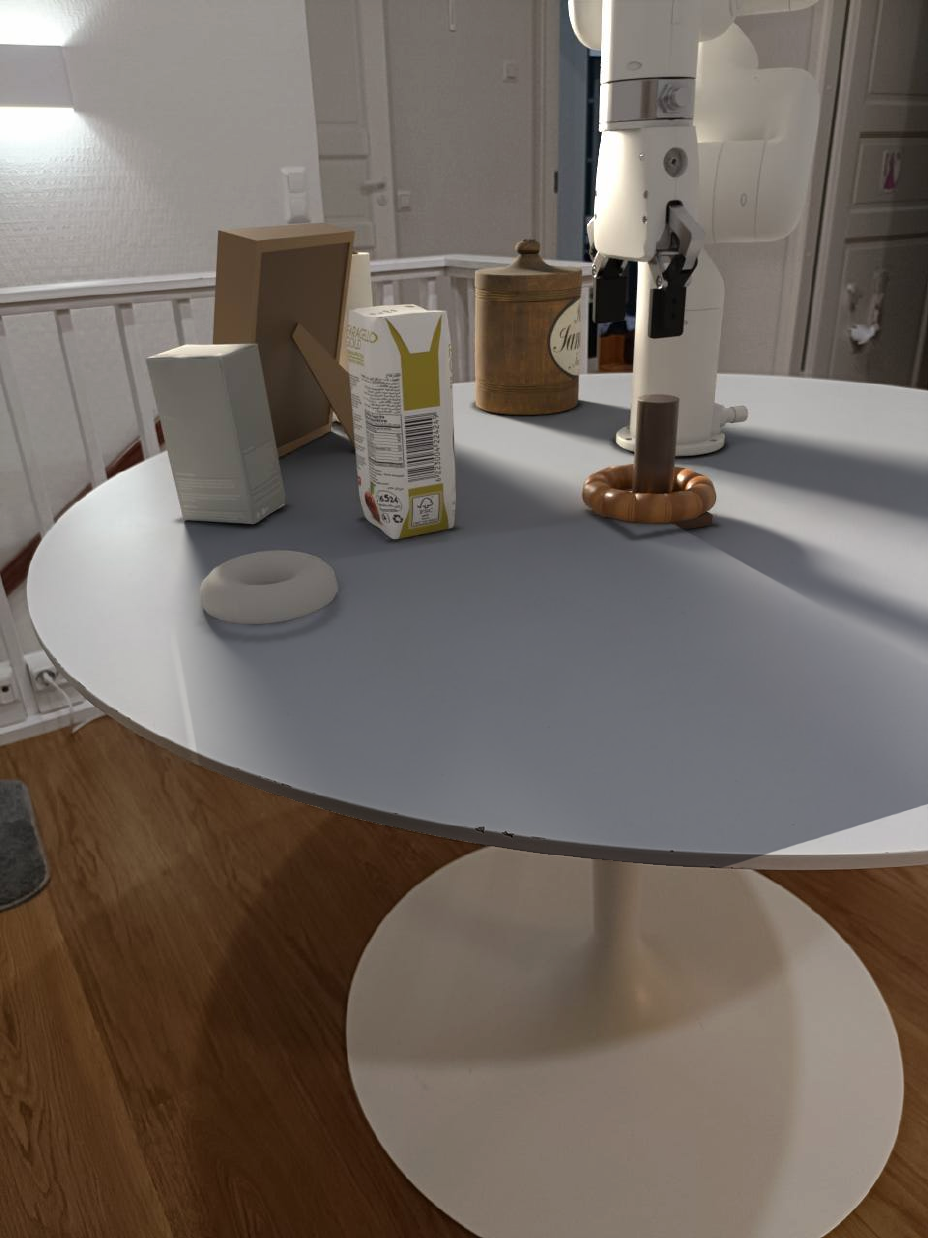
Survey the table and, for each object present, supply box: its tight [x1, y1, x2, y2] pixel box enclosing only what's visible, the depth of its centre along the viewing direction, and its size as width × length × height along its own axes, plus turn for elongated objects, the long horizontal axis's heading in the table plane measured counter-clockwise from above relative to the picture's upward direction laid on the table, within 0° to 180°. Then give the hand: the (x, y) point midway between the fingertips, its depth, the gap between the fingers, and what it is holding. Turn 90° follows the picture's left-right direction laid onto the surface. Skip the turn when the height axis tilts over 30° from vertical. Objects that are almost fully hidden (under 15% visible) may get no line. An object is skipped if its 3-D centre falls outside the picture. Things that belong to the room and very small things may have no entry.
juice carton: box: [347, 303, 457, 540], centre depth 78 cm, size 8×9×19 cm
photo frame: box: [212, 222, 356, 459], centre depth 100 cm, size 15×22×25 cm
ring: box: [581, 463, 717, 524], centre depth 81 cm, size 12×12×3 cm
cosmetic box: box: [145, 344, 287, 525], centre depth 82 cm, size 8×7×16 cm
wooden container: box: [474, 238, 583, 416], centre depth 122 cm, size 15×15×22 cm
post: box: [591, 394, 714, 530], centre depth 79 cm, size 8×8×11 cm
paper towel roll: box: [333, 250, 374, 423], centre depth 116 cm, size 7×6×21 cm
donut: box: [199, 549, 339, 625], centre depth 65 cm, size 10×4×10 cm
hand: (635, 328), depth 79 cm, fingers open, 9 cm apart
